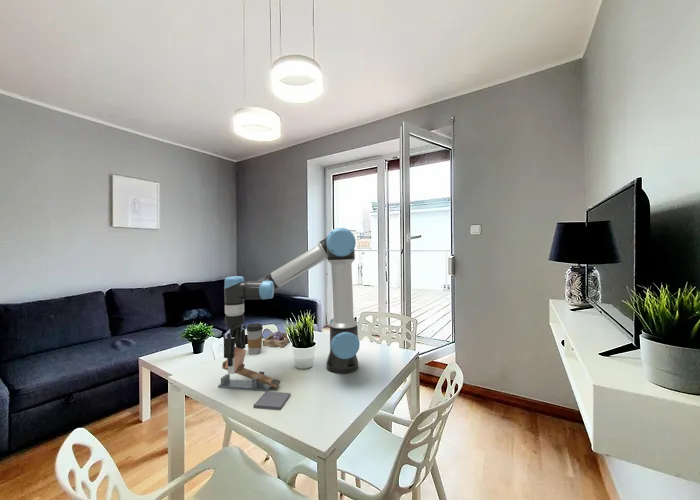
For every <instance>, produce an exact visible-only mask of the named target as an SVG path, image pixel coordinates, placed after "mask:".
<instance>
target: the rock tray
mask: <svg viewBox="0 0 700 500" xmlns="http://www.w3.org/2000/svg"><path fill="white" fill-rule="evenodd" d="M276 332H277V331H276ZM276 332H273V333H271V334H270V335H268V336H267V337H266V338H264V339H262V347H263V346H269V347H268V348H277V347H280V348H281V349H282V348H285V347H286V346H287V345H289V343H290V342H289V339H288V337H287V333H288V332H281V333H282V334H283V337H284V338H285V339H284V340H283V341H271V340H270V339H271V338H272V335H273V334H274V333H276Z"/></svg>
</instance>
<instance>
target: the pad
mask: <svg viewBox="0 0 700 500" xmlns="http://www.w3.org/2000/svg"><path fill="white" fill-rule="evenodd" d="M291 396H292V395H291V392H283V391H282V392H280V391H279V392H278V391H264V392H263V394H262V395H261V396H260V397H259V398H258V399H257V401H256V402H254V403H253V408H254V409H261V410H262V409H265V410H276V411H277V410H278V411H281V410H282V408H283V407H284V406H285V404H287V402H288V400H289V399H290V397H291Z"/></svg>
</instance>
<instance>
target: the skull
mask: <svg viewBox="0 0 700 500" xmlns="http://www.w3.org/2000/svg"><path fill="white" fill-rule="evenodd" d="M273 333H274V332H273ZM273 333H272V334H273ZM282 333H283V332H282V331H279V330H278V331H276V333H274V334H273V335H272V338H271V339H270V340H271V341H283V340H284V337H283V334H282Z"/></svg>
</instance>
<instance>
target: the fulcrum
mask: <svg viewBox="0 0 700 500" xmlns="http://www.w3.org/2000/svg"><path fill="white" fill-rule="evenodd" d="M258 373H262V374H263V375H265V371H259V372H258ZM217 388H219V389H229V390H232V389H233V390H244V391H247V390H248V391H259V392H266V391H269V392H271V390H272V389H273V388H274V387H273V386H270V385H267V384H264V383H262V382H259V381H257V378H252V379H251V380H244V379H243V380H242V379H232V378H231V374H228V373H226V374H224V375H223V376H222V377H220V383H219V384H218V385H217Z"/></svg>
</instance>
